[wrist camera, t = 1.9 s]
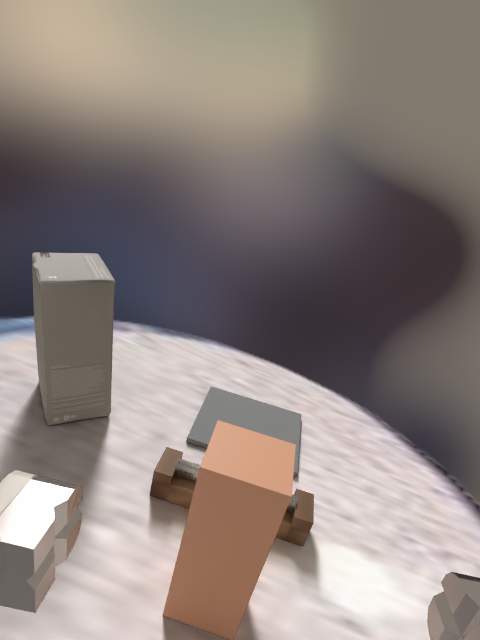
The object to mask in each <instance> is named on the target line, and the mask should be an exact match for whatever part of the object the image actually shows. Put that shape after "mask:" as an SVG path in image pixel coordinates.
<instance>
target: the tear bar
mask: <svg viewBox="0 0 480 640" xmlns="http://www.w3.org/2000/svg"><path fill="white" fill-rule="evenodd" d="M182 454H183V452H181V451H177V450H174V449H171V448H168V447H166V449H165V451H164V453H163V455H162V457H161V459H160V461H159V463H158V464H157V466H156V468H155V470H154V474H153V480H152V485H151V491H150V495H151V496H154V497H157V498H160V499H163V500H166V501H169V502H172V503H175V504H178V505H181V506H184V507H187V508H190V505H191V501H192V497H193V493H194V489H195V485H196V481H197V477H198V473H199V469H200V466H201V465H198V464H195V463H192V462H189V461H186V460H183V459H182ZM313 511H314V494H311V493H308V492H305V491H301V490H298V489H296V491H295V494H294V495H292V497H291V500H290V502H289V505H288V507H287V509H286V512H285V514H284V517H283V519H282V522H281V524H280V527H279V529H278V532H277V534H276V536H275V537H277V538H280V539H283V540H286V541H289V542H292V543H295V544H298V545H301V546H303V545H304V542H305V540H306V538H307V536H308V534H309V532H310V529H311V527H312V525H313Z"/></svg>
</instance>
